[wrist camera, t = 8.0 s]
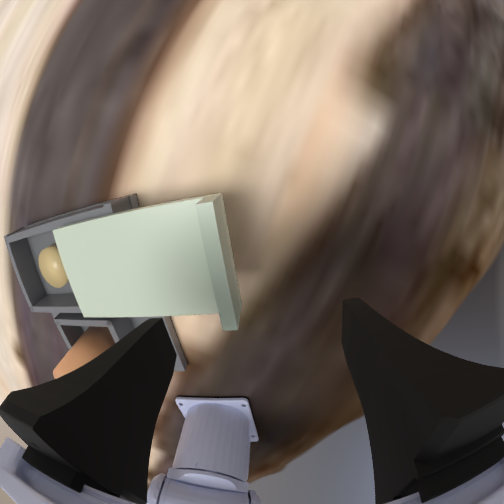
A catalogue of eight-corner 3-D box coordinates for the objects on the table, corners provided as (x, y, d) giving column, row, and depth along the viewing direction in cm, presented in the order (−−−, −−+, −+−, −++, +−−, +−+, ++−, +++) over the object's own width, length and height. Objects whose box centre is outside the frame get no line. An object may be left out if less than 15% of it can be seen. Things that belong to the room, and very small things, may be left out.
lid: (241, 304, 16) (237, 329, 14) (88, 311, 18) (71, 330, 15) (221, 192, 14) (212, 201, 12) (59, 227, 15) (35, 239, 13)
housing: (187, 364, 24) (178, 390, 20) (81, 356, 25) (67, 375, 22) (136, 192, 18) (111, 202, 15) (26, 225, 19) (3, 236, 16)
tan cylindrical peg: (131, 354, 22) (101, 407, 16) (100, 351, 23) (68, 398, 16) (116, 320, 21) (77, 372, 15) (84, 319, 21) (45, 364, 15)
